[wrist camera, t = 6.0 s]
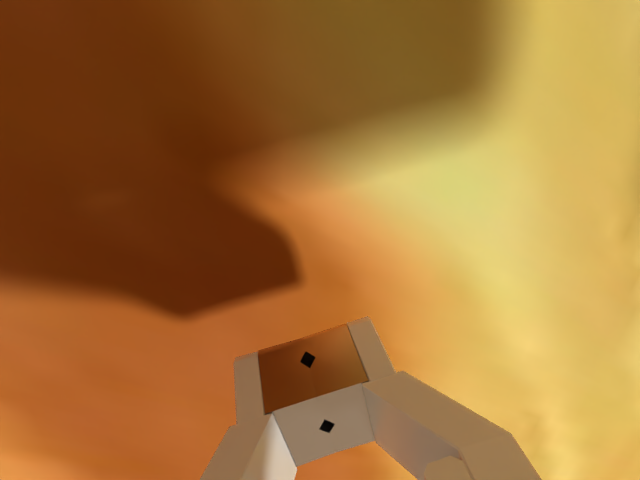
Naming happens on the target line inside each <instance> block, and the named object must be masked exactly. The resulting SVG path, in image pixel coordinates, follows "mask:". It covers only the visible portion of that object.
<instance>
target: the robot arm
mask: <svg viewBox="0 0 640 480" xmlns="http://www.w3.org/2000/svg"><path fill="white" fill-rule="evenodd" d="M234 383H235V404H236V425H233V426H230V427H229V428H228V430H227V432H226V434H225V435H224V437H223V439H222V441H221V443H220V444H219V446H218V448H217V450H216V451H215V453H214V455H213V457H212V459H211V460H210V462H209V464H208V466H207V468H206V469H205V471H204V473H203V475H202V476H201V478H200V480H294V478H295V475H296V472H297V468H296V467H297V466H300V465H303V464H305V463H308V462H311V461H313V460H316V459H319V458H322V457H324V456H327V455H330V454H333V453H335V452H339V451H342V450H345V449H349V448H352V447H355V446H358V445H362V444H365V443H368V442H372V441H376V443H377V444H378V445H379V446H380V447H382V448H383V449H384V450H385V451H386V452H387V453H388V454H390V455H391V456H392V457H393V458H394V459H395V460H396V461H397V462H399V463H400V464H401V465H402V466H403V467H404V468H405V469H407V470H408V471H409V472H410V473H411V474H412V475H413V476H415V477H416V478H417V479H418V480H542V479H541V478H540V476H539V475H538V473H537V472H536V470H535V469H534V467H533V466H532V464H531V463H530V461H529V460H528V458H527V457H526V455H525V454H524V452H523V451H522V449H521V448H520V446H519V445H518V443H517V442H516V440H515V439H514V437H513V436H512V434H511V433H509V432H508V431H506V430H504V429H503V428H501V427H499V426H497V425H496V424H494V423H492V422H490V421H489V420H487V419H485V418H484V417H482V416H480V415H478V414H477V413H475V412H473V411H472V410H470V409H468V408H466V407H465V406H463V405H461V404H460V403H458V402H456V401H454V400H453V399H451V398H449V397H448V396H446V395H444V394H442V393H441V392H439V391H437V390H436V389H434V388H432V387H430V386H429V385H427V384H425V383H424V382H422V381H420V380H418V379H417V378H415V377H413V376H412V375H410V374H408V373H406V372H405V371H400V372H397V373H396V371H395V369H394V367H393V365H392V363H391V361H390V358H389V356H388V354H387V352H386V350H385V348H384V346H383V344H382V342H381V339H380V337H379V335H378V333H377V331H376V329H375V327H374V325H373V323H372V320H371V319H370V318H369V317H368V316H367V317H364V318H361V319H358V320H355V321H352V322H349V323H346V324H343V325H340V326H337V327H334V328H331V329H327V330H324V331H321V332H318V333H315V334H312V335H309V336H306V337H303V338H300V339H297V340H293V341H290V342H286V343H283V344H279V345H276V346H272V347H269V348H265V349H262V350H258V351H257V352H253V353H250V354H246V355H243V356H239V357H236V358H235V361H234Z"/></svg>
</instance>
